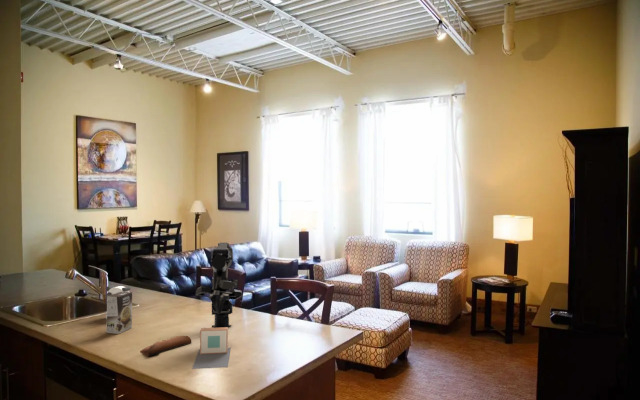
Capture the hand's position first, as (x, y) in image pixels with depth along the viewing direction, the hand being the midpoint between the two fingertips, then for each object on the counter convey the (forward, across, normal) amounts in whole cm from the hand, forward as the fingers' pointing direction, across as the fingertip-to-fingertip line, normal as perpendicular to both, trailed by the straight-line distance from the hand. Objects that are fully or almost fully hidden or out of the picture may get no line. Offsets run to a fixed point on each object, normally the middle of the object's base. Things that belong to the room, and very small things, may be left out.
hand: (218, 313), depth 172 cm
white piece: (-10, -20, +64) cm, 68 cm away
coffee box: (0, -25, +44) cm, 50 cm away
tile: (+16, -4, -5) cm, 17 cm away
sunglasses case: (+13, -16, +12) cm, 24 cm away
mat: (+18, -6, -8) cm, 21 cm away
